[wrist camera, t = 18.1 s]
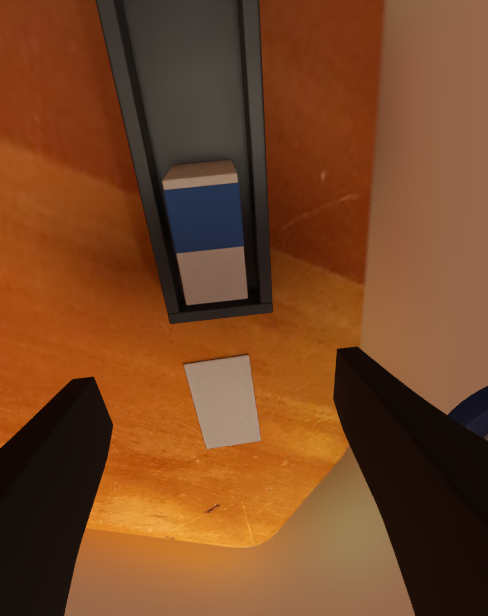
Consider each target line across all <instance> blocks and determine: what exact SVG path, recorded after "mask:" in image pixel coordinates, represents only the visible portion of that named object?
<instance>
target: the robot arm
mask: <svg viewBox="0 0 488 616" xmlns="http://www.w3.org/2000/svg"><path fill="white" fill-rule="evenodd" d="M333 399H334V403H335V406H336V409H337V413H338V416H339V419H340V422H341V425H342V428H343V431H344V433H345V435H346V438H347V440H348V442H349V445H350V447H351V449H352V451H353V453H354V455H355V458H356V460H357V462H358V464H359V466H360V469H361V471H362V473H363V475H364V477H365V480H366V482H367V484H368V486H369V489H370V491H371V493H372V495H373V497H374V500H375V502H376V504H377V507H378V509H379V511H380V514H381V516H382V519H383V521H384V524H385V527H386V530H387V533H388V535H389V539H390V541H391V544H392V547H393V550H394V553H395V556H396V558H397V561H398V564H399V567H400V570H401V573H402V576H403V579H404V582H405V585H406V588H407V591H408V594H409V597H410V600H411V603H412V607H413V610H414V613H415V616H488V433H487V434H486V435H485V436H484V437H483V438H482V437H481V436H479V435H477V434H476V433H474V432H472V431H471V430H469V429H467V428H466V427H464V426H463V425H461V424H460V423H458V422H457V421H455V420H453V419H452V418H450V417H449V416H448V415H446V414H445V413H443V412H442V411H440V410H439V409H437V408H436V407H434V406H433V405H431V404H430V403H429V402H427V401H426V400H424V399H423V398H422V397H420V396H419V395H418V394H416V393H415V392H413V391H412V390H411V389H410V388H408V387H407V386H406V385H404V384H403V383H402V382H401V381H399V380H398V379H397V378H395V377H394V376H393V375H392V374H390V373H389V372H388V371H387V370H385V369H384V368H383V367H382V366H380V365H379V364H378V363H377V362H376V361H374V360H373V359H372V358H371V357H369V356H368V355H367V354H366V353H364V352H363V351H362V350H361V349H360V348H358V347H350V348H341V349H337V356H336V370H335V383H334V396H333ZM112 429H113V423H112V421H111V418H110V416H109V413H108V411H107V408H106V406H105V403H104V401H103V398H102V396H101V393H100V391H99V388H98V386H97V383H96V381H95V378H94V377H87V378H78V379H72V380H71V381H70V382H69V383H68V384H67V385H66V386H65V387H64V388H63V389H62V390H61V391H60V392H58V393H57V394H56V395H55V396H54V397H53V398H52V399H51V400H50V401H49V402H48V403H47V404H46V405H45V406H44V407H43V408H42V409H41V410H40V411H39V412H38V413H37V414H36V415H35V416H34V417H33V418H32V419H31V420H30V421H29V422H28V423H27V424H26V425H25V426H24V427H23V428H22V429H21V430H20V431H18V432H17V433H16V434H15V435H14V436H13V437H12V438H11V439H10V440H9V441H8V442H7V443H6V444H5V445H3V446H2V447H1V448H0V616H64V613H65V608H66V603H67V599H68V594H69V590H70V585H71V580H72V576H73V571H74V567H75V562H76V558H77V555H78V551H79V548H80V544H81V540H82V537H83V534H84V531H85V528H86V525H87V521H88V518H89V515H90V512H91V509H92V506H93V503H94V499H95V496H96V493H97V490H98V487H99V484H100V480H101V477H102V474H103V471H104V467H105V464H106V461H107V457H108V452H109V446H110V441H111V435H112Z"/></svg>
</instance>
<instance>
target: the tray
mask: <svg viewBox="0 0 488 616" xmlns="http://www.w3.org/2000/svg"><path fill="white" fill-rule="evenodd" d="M96 5H97V9H98V13H99V18H100V22H101V26H102V31H103V35H104V39H105V44H106V48H107V53H108V57H109V61H110V66H111V70H112V74H113V79H114V83H115V87H116V92H117V96H118V100H119V105H120V109H121V113H122V118H123V122H124V127H125V131H126V135H127V140H128V144H129V148H130V153H131V157H132V161H133V166H134V170H135V174H136V179H137V183H138V187H139V192H140V196H141V200H142V205H143V209H144V214H145V218H146V222H147V227H148V231H149V235H150V240H151V244H152V248H153V253H154V257H155V261H156V266H157V270H158V274H159V279H160V283H161V288H162V292H163V296H164V301H165V305H166V309H167V313H168V318H169V322H170V324H175V323H184V322H193V321H202V320H211V319H220V318H228V317H237V316H246V315H255V314H264V313H272V312H273V304H272V281H271V259H270V236H269V213H268V191H267V168H266V145H265V122H264V100H263V77H262V54H261V32H260V9H259V0H96ZM223 160H232V162H233V165H234V167H235V170H236V172H237V177H238V183H239V190H240V202H241V214H242V225H243V237H244V258H245V269H246V281H247V292H248V298H246V299H238V300H229V301H220V302H211V303H202V304H193V305H187V304H186V301H185V296H184V291H183V285H182V280H181V275H180V270H179V265H178V260H177V255H176V252H175V249H174V244H173V239H172V234H171V228H170V223H169V218H168V213H167V208H166V203H165V198H164V193H163V190H164V188H163V183H162V181H163V179H164V178H165V176H166V175H167V173H168V172H169V170H170V169H171V167H172V166H173V165H183V164H193V163H203V162H213V161H223Z"/></svg>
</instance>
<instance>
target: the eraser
mask: <svg viewBox="0 0 488 616" xmlns="http://www.w3.org/2000/svg"><path fill="white" fill-rule="evenodd" d="M162 183H163V188H164V190H163V193H164V198H165V203H166V208H167V213H168V218H169V223H170V228H171V234H172V239H173V244H174V249H175V252H176V255H177V260H178V265H179V270H180V275H181V280H182V285H183V291H184V296H185V301H186V304H187V305H193V304H202V303H211V302H220V301H229V300H238V299H246V298H248V292H247V281H246V269H245V258H244V237H243V225H242V214H241V202H240V190H239V183H238V177H237V172H236V170H235V167H234V165H233V162H232V160H223V161H213V162H203V163H193V164H183V165H173V166H172V167H171V169H170V170H169V172H168V173H167V175H166V176H165V178H164V179H163V181H162Z"/></svg>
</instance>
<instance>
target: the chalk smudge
mask: <svg viewBox="0 0 488 616" xmlns="http://www.w3.org/2000/svg"><path fill="white" fill-rule="evenodd" d="M184 368H185V372H186V375H187V379H188V383H189V386H190V390H191V394H192V397H193V401H194V405H195V408H196V412H197V416H198V419H199V423H200V427H201V430H202V434H203V438H204V441H205V445H206V449H210V448H217V447H223V446H230V445H237V444H243V443H250V442H256V441H261V438H260V431H259V424H258V417H257V410H256V403H255V396H254V389H253V382H252V375H251V368H250V361H249V354H248V355H241V356H234V357H227V358H221V359H214V360H207V361H200V362H193V363H187V364H184Z"/></svg>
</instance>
